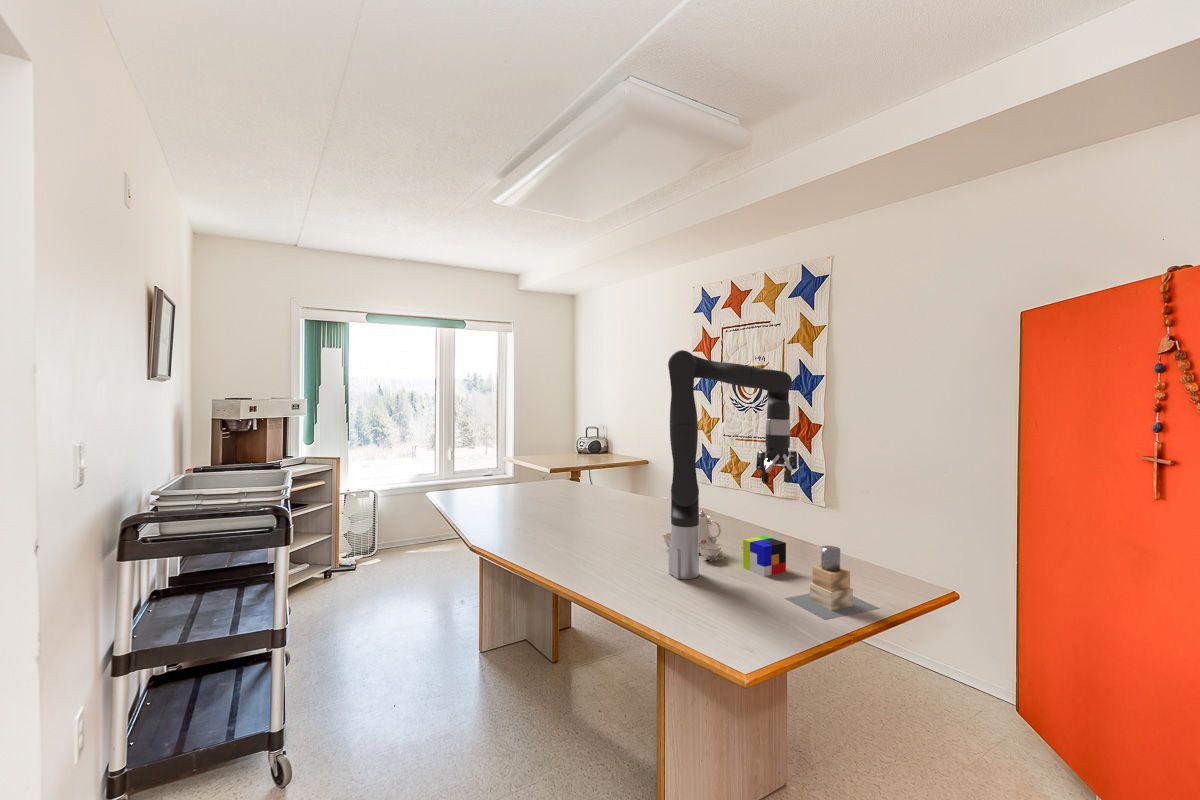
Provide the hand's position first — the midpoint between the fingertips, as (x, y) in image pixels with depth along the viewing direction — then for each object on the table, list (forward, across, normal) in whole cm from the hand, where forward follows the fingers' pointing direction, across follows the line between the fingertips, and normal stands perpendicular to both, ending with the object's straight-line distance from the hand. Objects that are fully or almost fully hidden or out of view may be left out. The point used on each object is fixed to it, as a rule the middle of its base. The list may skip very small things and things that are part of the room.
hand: (776, 483), depth 173 cm
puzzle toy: (+32, +4, +10) cm, 34 cm away
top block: (+26, +3, -22) cm, 34 cm away
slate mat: (+32, +3, -22) cm, 39 cm away
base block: (+31, +3, -22) cm, 38 cm away
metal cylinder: (+21, +2, -22) cm, 30 cm away
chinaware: (+33, -8, +35) cm, 49 cm away
